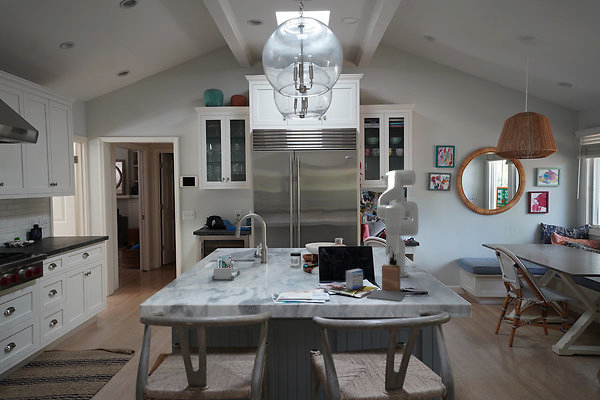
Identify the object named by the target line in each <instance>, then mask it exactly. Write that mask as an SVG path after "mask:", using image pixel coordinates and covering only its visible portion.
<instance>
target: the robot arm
mask: <svg viewBox="0 0 600 400" xmlns="http://www.w3.org/2000/svg"><path fill="white" fill-rule="evenodd" d="M384 181H385V186H386V190H385V191H384V192H383V193H382V194H381V195H380V196H379V198H378V200H377V205H376V216H377V218H378V219H380V220H384V234H385V235H386V237H385V255H386V256H387V265H400V278H404V277H407V276H409V272H407V271H406V244H405V241H404V239H403V238H402V237H403V236H404V237H415V236H417V235H418V233H419V206H418V203H417V202H415V201H412V200H411V201H409V200H408V201H407V200H405V192H404V186H405V187H406V186H414V185H416V182H417V174H416V172H415V170H413V169H398V170H397V169H396V170H395V169H394V170H392V171H388V172H386V173H385V175H384ZM387 203H388V204H387Z"/></svg>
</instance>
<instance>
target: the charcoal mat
mask: <svg viewBox="0 0 600 400" xmlns="http://www.w3.org/2000/svg"><path fill="white" fill-rule="evenodd" d="M406 294H407V292H406V291H399V292H397V291H387V290H382V289H376V288H374V289H372V291H371V292H370V293H369V294H368V295H367V296H366V299H372V300H373V299H374V300H383V301H390V302H391V301H392V302H398V303H399V302H400V303H401V302H402V300H403V299H404V297H405V296H406Z"/></svg>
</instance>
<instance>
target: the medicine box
mask: <svg viewBox="0 0 600 400" xmlns="http://www.w3.org/2000/svg"><path fill="white" fill-rule="evenodd" d="M362 287H364V270H363V269H360V268H355V269H349V270H345V288H347V289H349V290H357V289H359V288H362Z"/></svg>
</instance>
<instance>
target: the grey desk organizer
mask: <svg viewBox="0 0 600 400" xmlns="http://www.w3.org/2000/svg"><path fill="white" fill-rule="evenodd" d="M223 261H224V263H225V265H226V267H213V274H212V276H211V281H215V280H230V281H232V282H234V280H235V277H236V276H240V275H241V271H240V270H237V269H234V263H235V261H233V260H231V259H230V258H229V257H227V258H224V259H223ZM230 263H231V267H228V265H229V264H230ZM236 270H237V271H236Z"/></svg>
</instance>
